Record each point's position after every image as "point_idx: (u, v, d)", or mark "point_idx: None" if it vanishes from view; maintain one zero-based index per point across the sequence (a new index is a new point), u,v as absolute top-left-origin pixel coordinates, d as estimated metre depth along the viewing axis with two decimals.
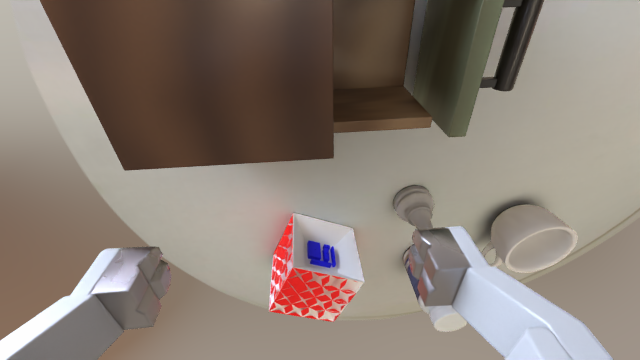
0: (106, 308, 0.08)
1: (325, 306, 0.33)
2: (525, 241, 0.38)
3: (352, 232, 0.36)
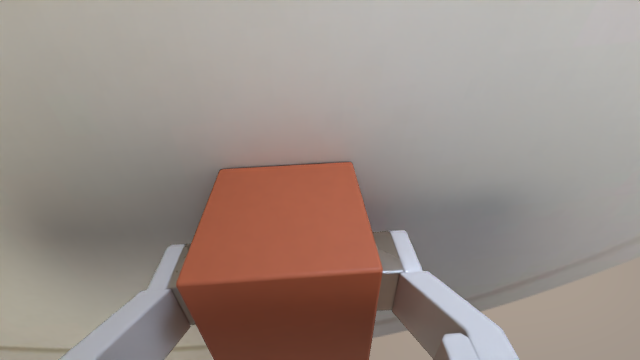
0: (178, 303, 0.08)
1: None
2: None
3: None
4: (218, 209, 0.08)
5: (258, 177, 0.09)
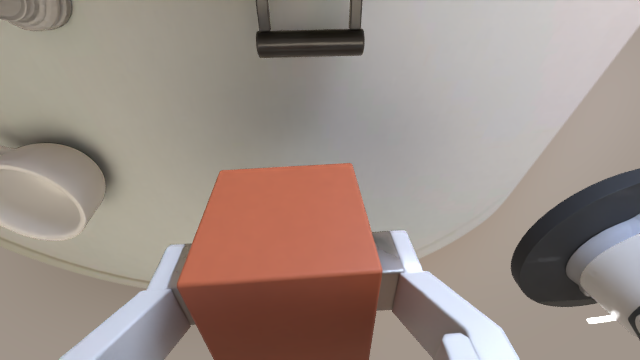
0: (178, 303, 0.08)
1: None
2: (41, 194, 0.27)
3: None
4: (218, 210, 0.08)
5: (258, 178, 0.09)
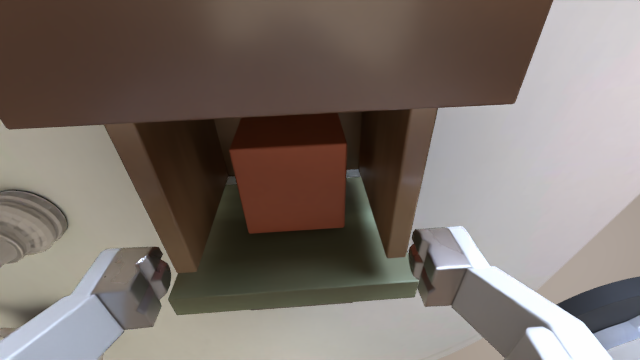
0: (106, 308, 0.08)
1: None
2: None
3: None
4: (248, 122, 0.13)
5: None
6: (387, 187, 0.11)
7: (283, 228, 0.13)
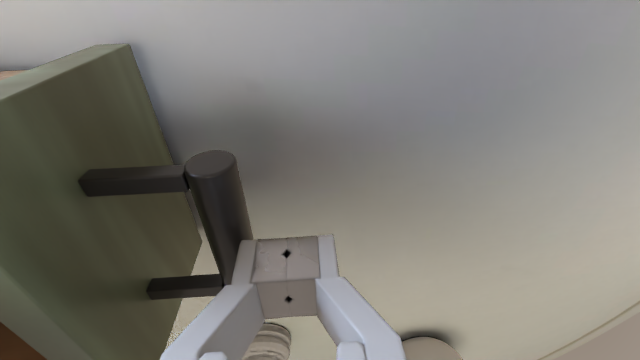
0: (258, 297, 0.08)
1: None
2: None
3: None
4: None
5: None
6: None
7: None
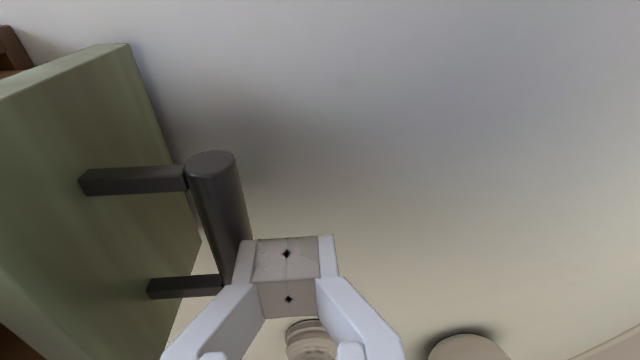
0: (258, 297, 0.08)
1: None
2: None
3: None
4: None
5: None
6: None
7: None
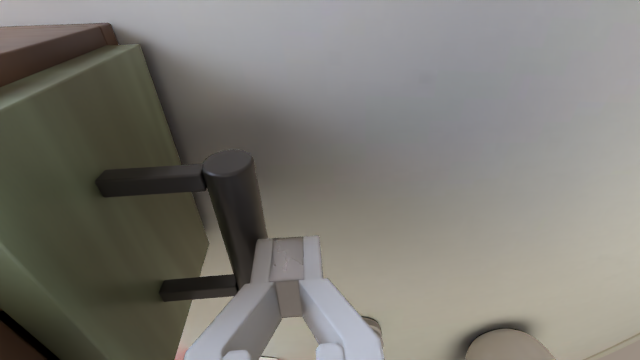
0: (276, 296, 0.08)
1: None
2: None
3: None
4: None
5: None
6: None
7: None
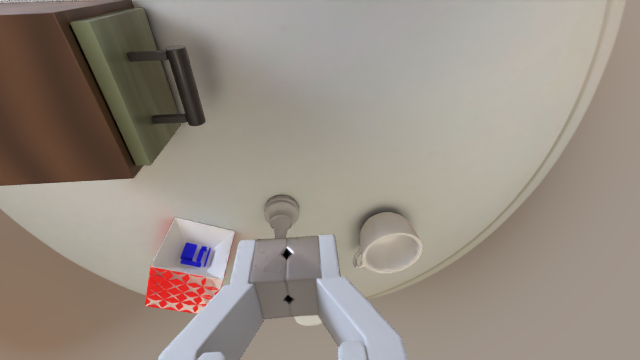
0: (257, 298, 0.08)
1: (196, 302, 0.36)
2: (394, 245, 0.42)
3: (232, 235, 0.40)
4: None
5: None
6: None
7: (104, 99, 0.23)
